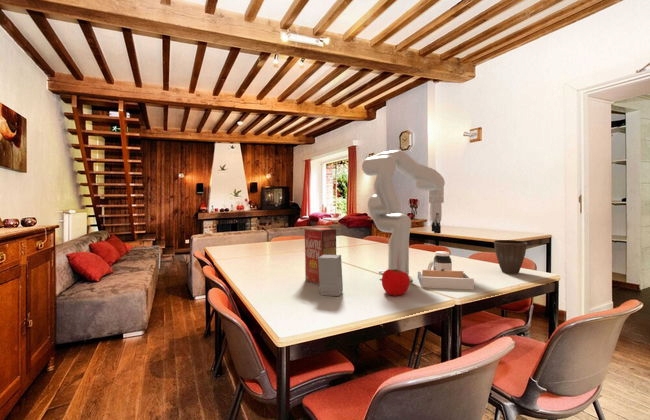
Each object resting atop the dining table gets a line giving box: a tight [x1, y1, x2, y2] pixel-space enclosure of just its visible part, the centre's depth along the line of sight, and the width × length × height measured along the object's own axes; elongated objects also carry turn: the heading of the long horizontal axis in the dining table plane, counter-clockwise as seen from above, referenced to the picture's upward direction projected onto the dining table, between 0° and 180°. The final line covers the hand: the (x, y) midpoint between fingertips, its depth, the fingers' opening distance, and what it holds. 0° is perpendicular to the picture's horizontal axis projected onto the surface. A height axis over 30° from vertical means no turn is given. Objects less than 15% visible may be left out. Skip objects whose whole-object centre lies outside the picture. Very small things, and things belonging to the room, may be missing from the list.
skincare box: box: [318, 254, 344, 297], centre depth 131 cm, size 8×7×16 cm
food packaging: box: [304, 226, 337, 285], centre depth 151 cm, size 13×9×25 cm
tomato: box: [381, 269, 411, 297], centre depth 131 cm, size 11×13×10 cm
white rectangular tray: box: [417, 271, 475, 291], centre depth 146 cm, size 21×17×4 cm
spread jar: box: [426, 250, 453, 271], centre depth 162 cm, size 12×11×12 cm
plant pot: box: [493, 239, 528, 275], centre depth 166 cm, size 15×15×16 cm
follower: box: [421, 269, 464, 278], centre depth 150 cm, size 18×2×6 cm, turn 79°
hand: (436, 232), depth 172 cm, fingers open, 9 cm apart
